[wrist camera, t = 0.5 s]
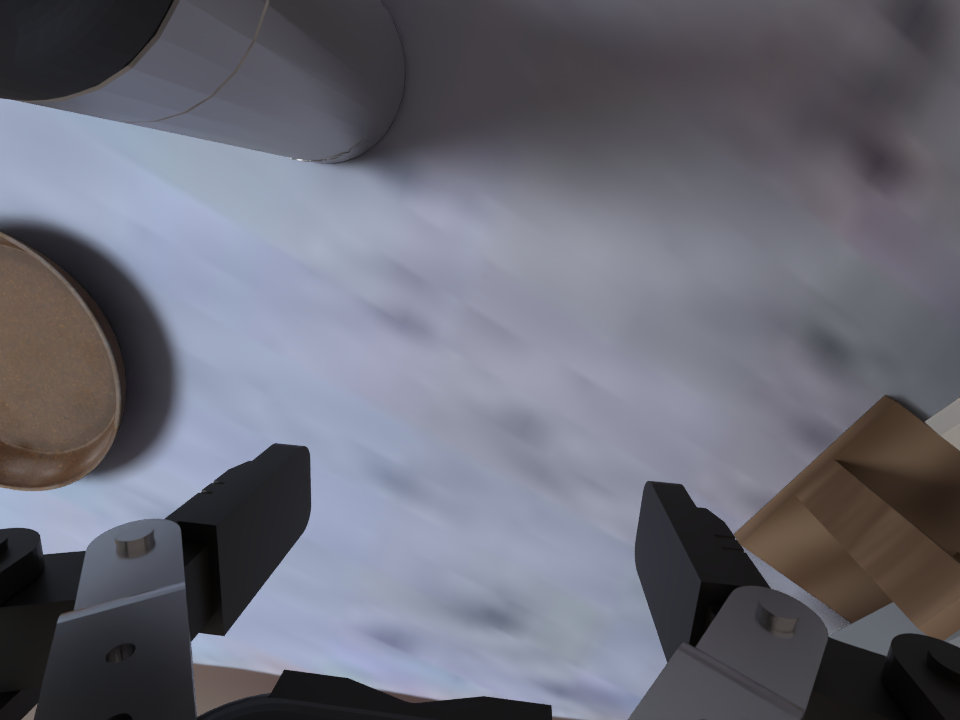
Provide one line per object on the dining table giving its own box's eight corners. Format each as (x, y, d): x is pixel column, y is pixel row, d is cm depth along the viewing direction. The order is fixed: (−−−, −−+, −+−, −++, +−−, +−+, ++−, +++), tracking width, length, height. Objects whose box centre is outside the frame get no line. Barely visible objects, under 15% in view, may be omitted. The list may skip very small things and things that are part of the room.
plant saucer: (73, 514, 37) (34, 540, 34) (-137, 349, 35) (-198, 361, 32) (204, 357, 32) (172, 371, 30) (-29, 151, 30) (-89, 145, 27)
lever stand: (733, 534, 32) (832, 691, 22) (884, 395, 29) (1088, 503, 18) (862, 625, 33) (1015, 817, 23) (1023, 502, 30) (1290, 662, 19)
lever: (650, 581, 28) (662, 670, 23) (1026, 312, 19) (1164, 372, 14) (853, 720, 29) (902, 829, 25) (1293, 532, 20) (1496, 650, 16)
